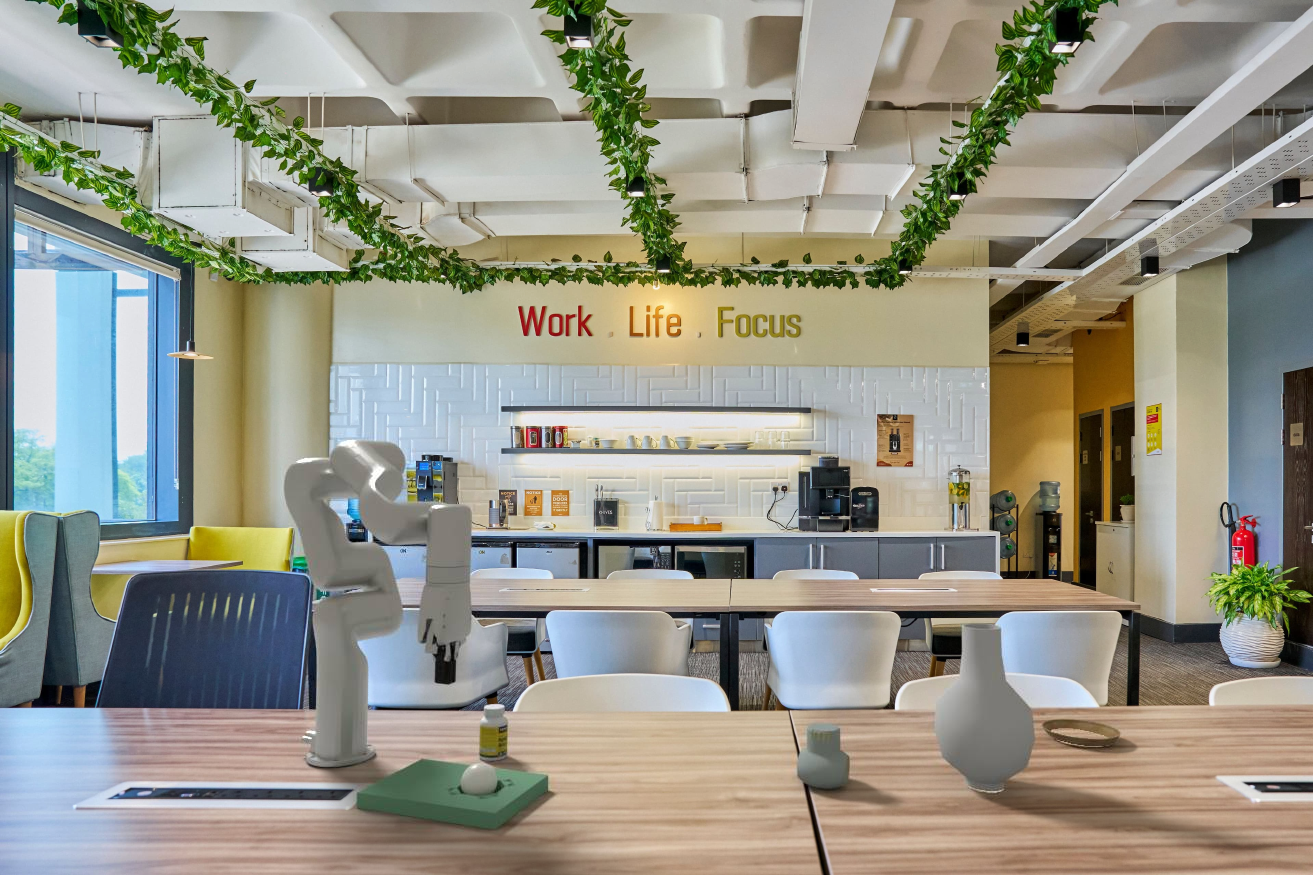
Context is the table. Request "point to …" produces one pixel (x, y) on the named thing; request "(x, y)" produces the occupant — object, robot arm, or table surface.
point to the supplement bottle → (493, 733)
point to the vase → (984, 715)
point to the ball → (479, 780)
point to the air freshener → (823, 758)
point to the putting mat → (451, 794)
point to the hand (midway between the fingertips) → (445, 682)
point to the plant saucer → (1082, 725)
